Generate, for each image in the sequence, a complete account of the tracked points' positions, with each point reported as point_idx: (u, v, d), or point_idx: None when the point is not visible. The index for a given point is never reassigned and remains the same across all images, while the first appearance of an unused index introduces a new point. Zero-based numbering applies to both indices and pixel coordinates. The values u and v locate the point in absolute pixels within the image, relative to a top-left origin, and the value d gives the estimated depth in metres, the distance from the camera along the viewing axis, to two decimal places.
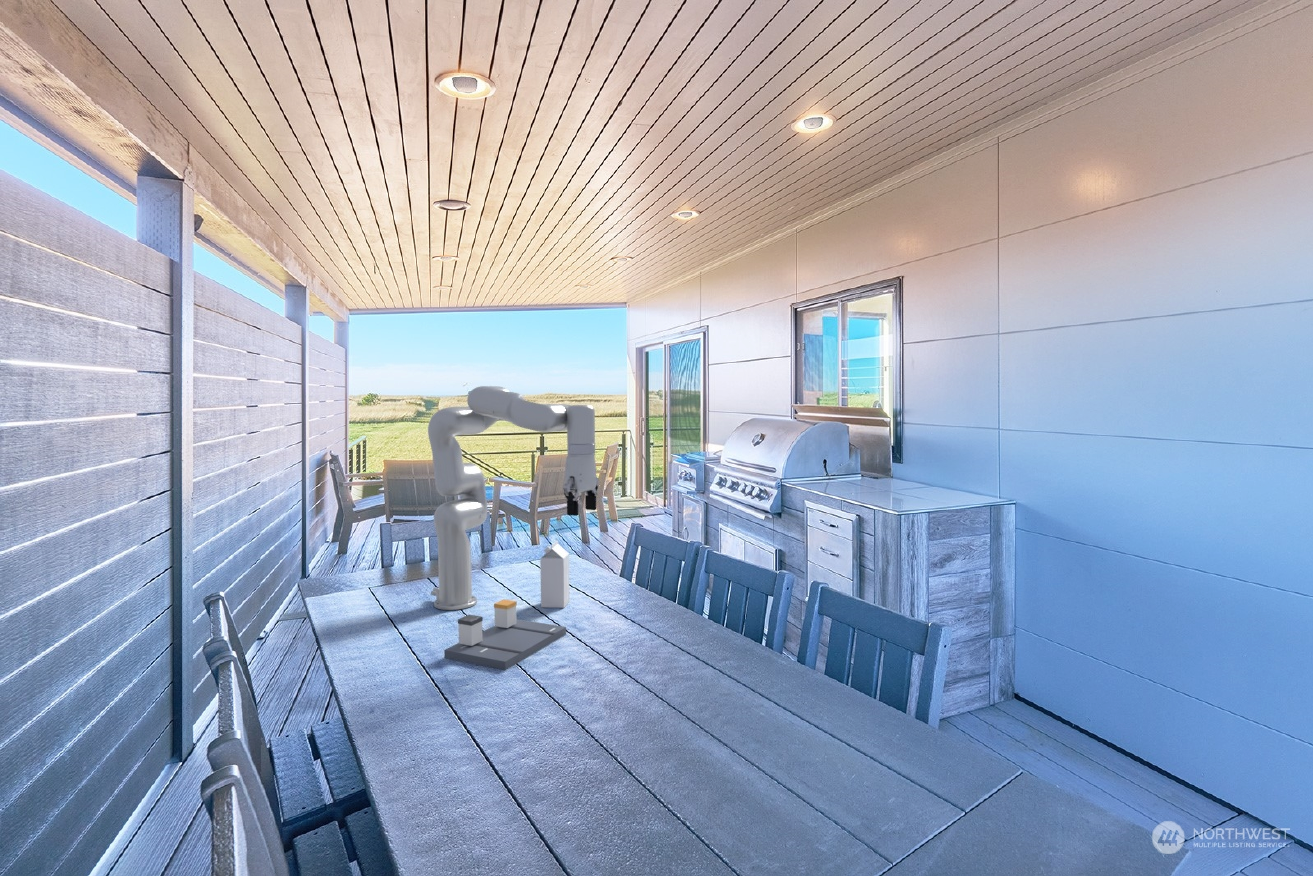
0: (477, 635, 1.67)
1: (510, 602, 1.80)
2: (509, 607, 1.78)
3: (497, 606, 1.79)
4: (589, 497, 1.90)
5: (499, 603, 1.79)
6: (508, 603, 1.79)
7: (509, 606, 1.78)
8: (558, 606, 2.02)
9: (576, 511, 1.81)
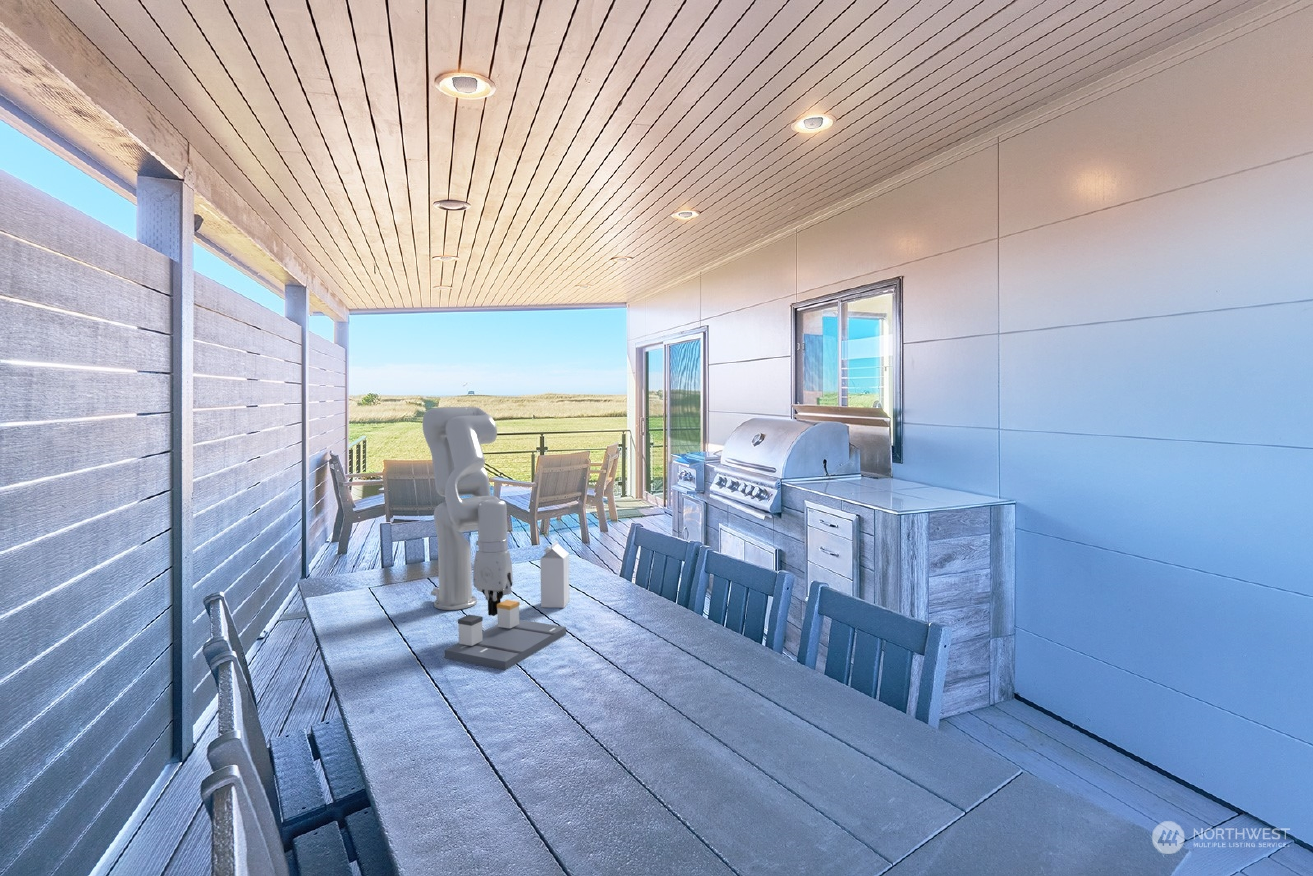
0: (477, 635, 1.67)
1: (513, 602, 1.80)
2: (512, 607, 1.78)
3: (500, 606, 1.78)
4: None
5: (501, 604, 1.79)
6: (511, 603, 1.79)
7: (512, 606, 1.78)
8: (558, 606, 2.02)
9: None
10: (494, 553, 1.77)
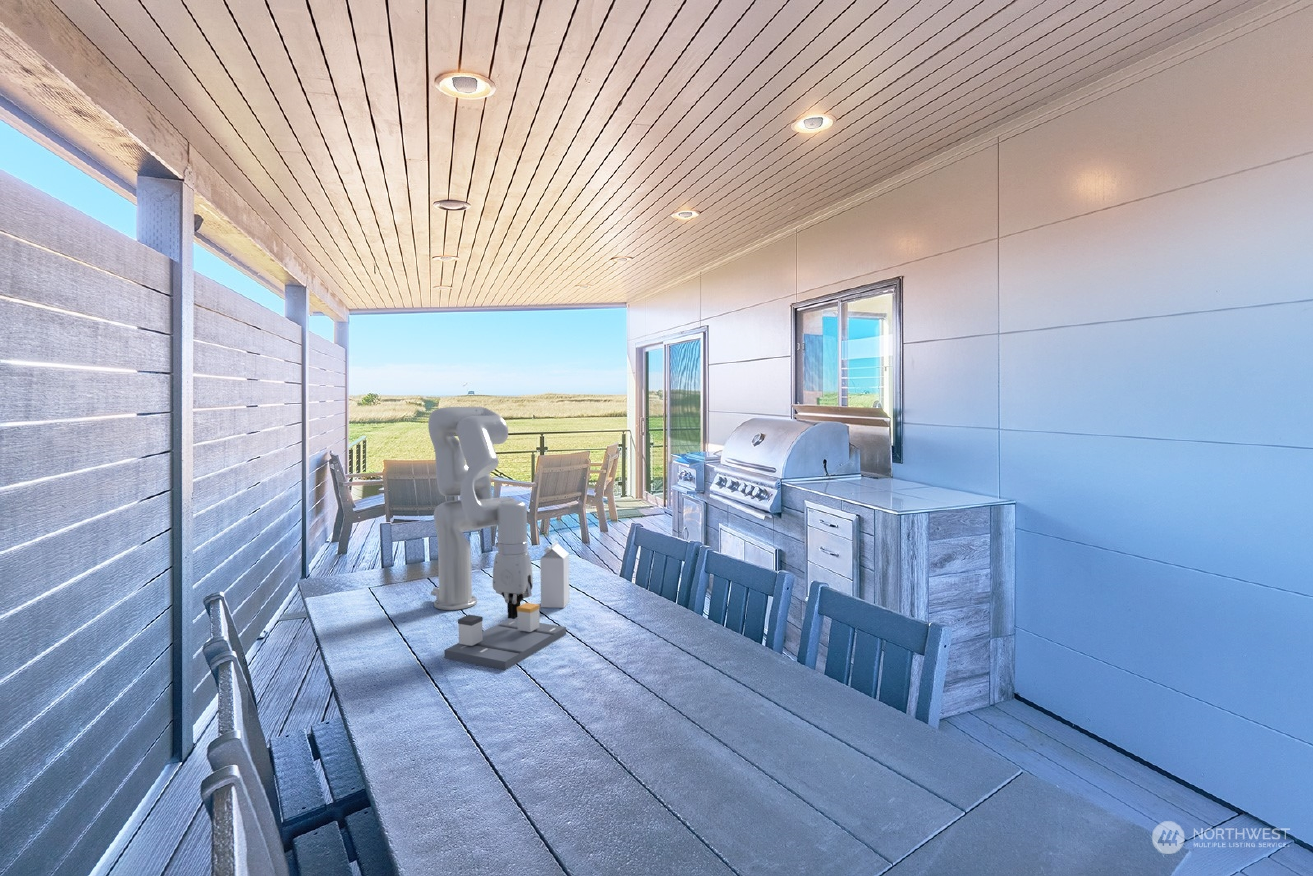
0: (477, 635, 1.67)
1: (533, 605, 1.77)
2: (532, 611, 1.75)
3: (520, 609, 1.76)
4: None
5: (522, 607, 1.76)
6: (531, 606, 1.76)
7: (532, 609, 1.75)
8: (558, 606, 2.02)
9: None
10: (514, 555, 1.75)
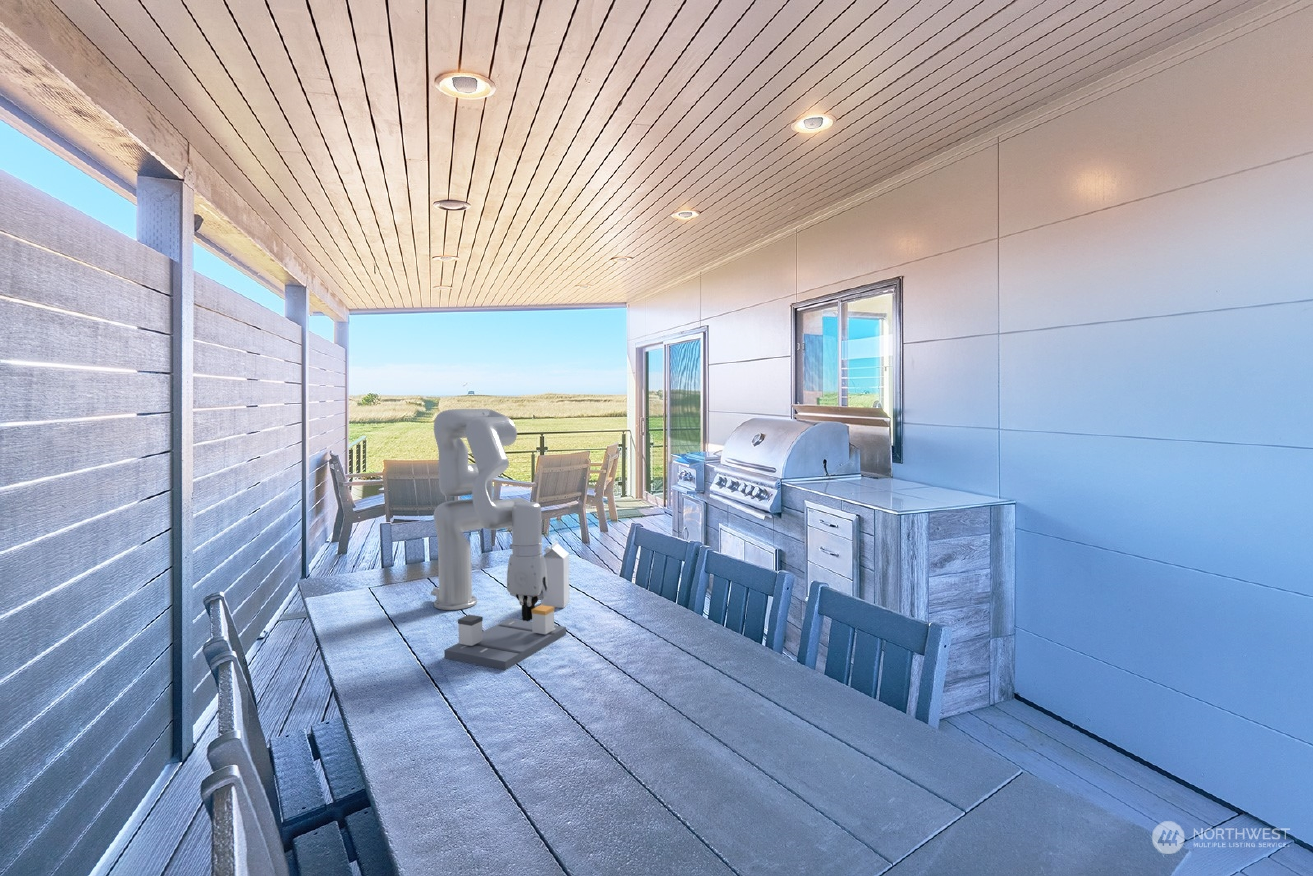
0: (477, 635, 1.67)
1: (548, 608, 1.75)
2: (547, 613, 1.74)
3: (535, 611, 1.74)
4: None
5: (536, 609, 1.74)
6: (546, 609, 1.74)
7: (547, 612, 1.73)
8: (558, 606, 2.02)
9: None
10: (529, 557, 1.73)
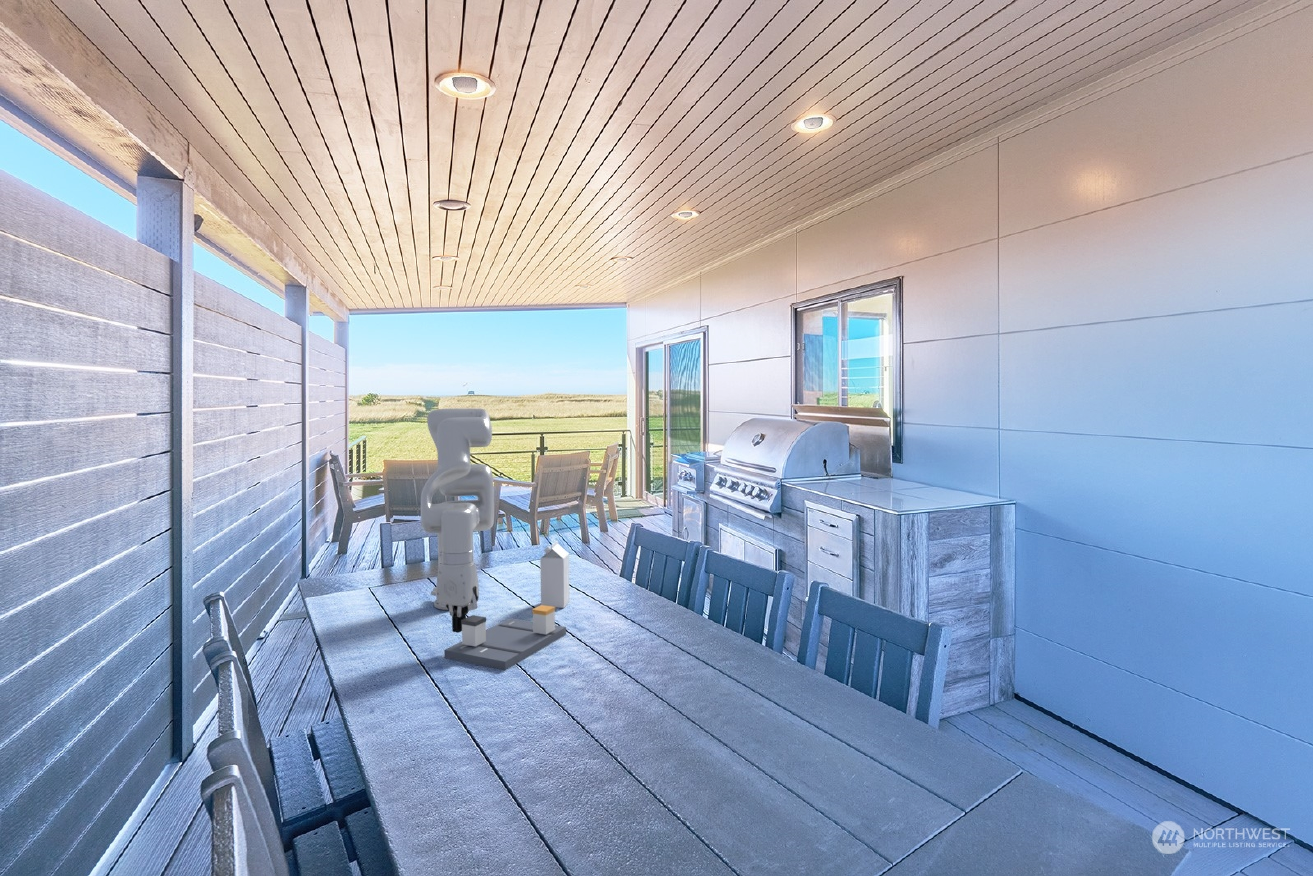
0: (480, 635, 1.66)
1: (549, 608, 1.75)
2: (548, 613, 1.73)
3: (536, 611, 1.74)
4: None
5: (537, 609, 1.74)
6: (547, 609, 1.74)
7: (548, 612, 1.73)
8: (558, 606, 2.02)
9: None
10: (458, 565, 1.65)
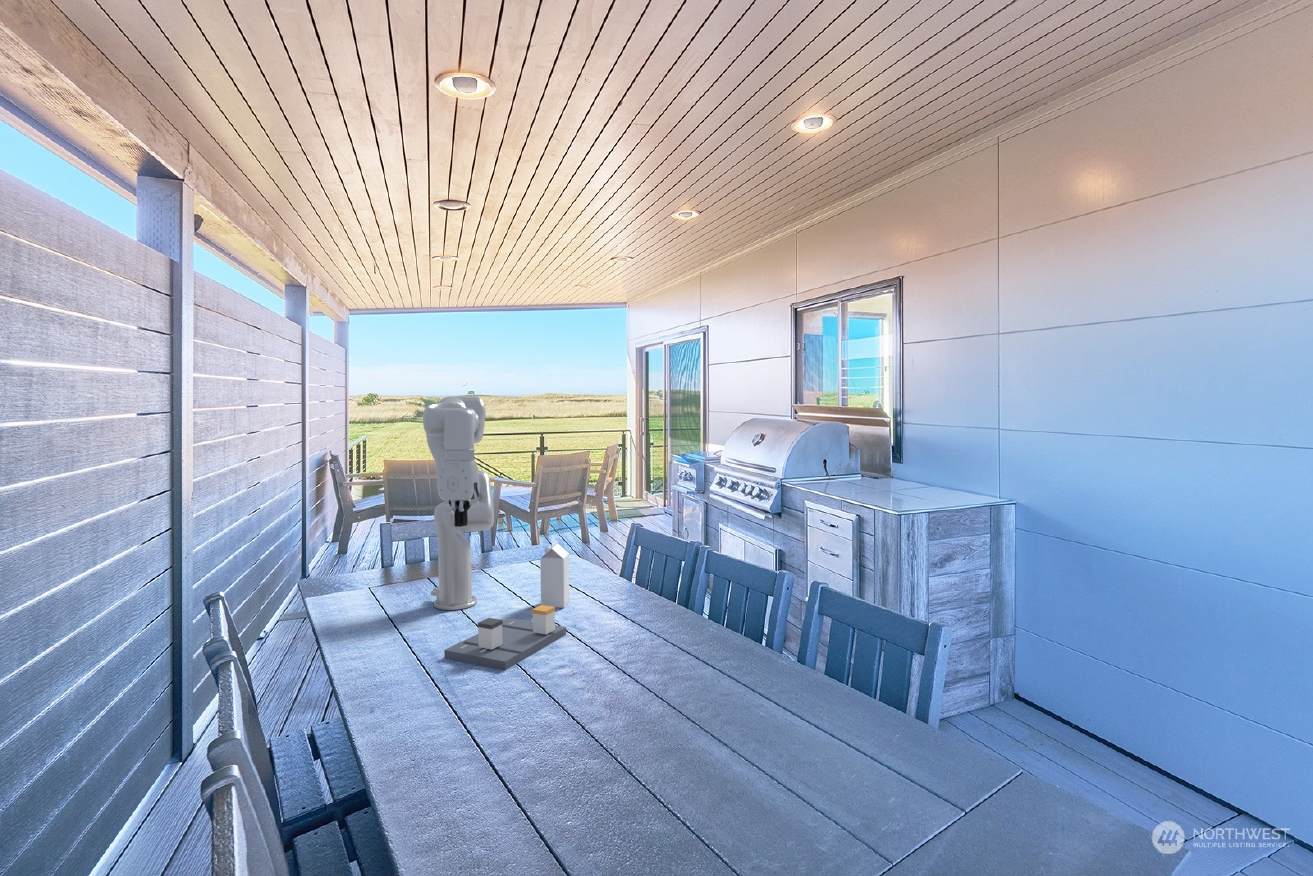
0: (497, 638, 1.64)
1: (549, 608, 1.75)
2: (548, 613, 1.73)
3: (536, 611, 1.74)
4: None
5: (537, 609, 1.74)
6: (547, 609, 1.74)
7: (548, 612, 1.73)
8: (558, 606, 2.02)
9: None
10: (460, 461, 1.74)
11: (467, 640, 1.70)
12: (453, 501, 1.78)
